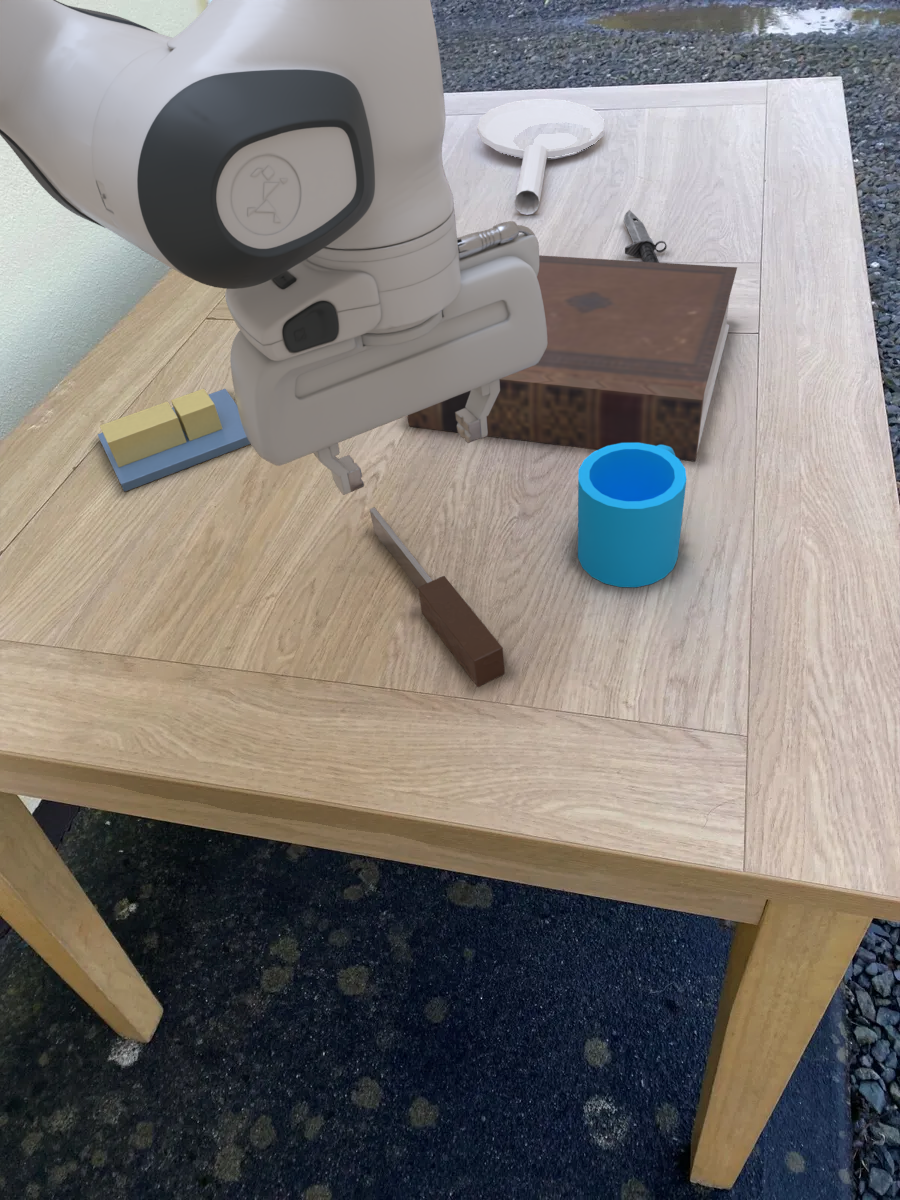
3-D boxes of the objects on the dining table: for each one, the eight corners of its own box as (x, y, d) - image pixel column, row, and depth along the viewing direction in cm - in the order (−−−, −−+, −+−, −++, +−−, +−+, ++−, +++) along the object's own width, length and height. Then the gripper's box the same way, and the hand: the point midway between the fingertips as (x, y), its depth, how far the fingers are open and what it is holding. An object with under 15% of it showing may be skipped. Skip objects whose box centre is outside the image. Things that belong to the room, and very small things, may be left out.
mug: (651, 600, 71) (658, 522, 65) (559, 567, 75) (558, 489, 69) (711, 511, 78) (723, 432, 72) (624, 484, 81) (628, 407, 76)
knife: (609, 204, 117) (648, 200, 117) (609, 220, 119) (647, 215, 118) (637, 273, 104) (681, 267, 104) (637, 289, 106) (680, 284, 106)
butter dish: (124, 492, 88) (109, 459, 85) (100, 441, 94) (86, 409, 91) (259, 441, 92) (249, 407, 89) (227, 396, 98) (217, 363, 95)
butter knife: (477, 687, 67) (474, 661, 65) (364, 537, 80) (358, 511, 78) (505, 674, 68) (503, 647, 65) (389, 527, 80) (384, 500, 78)
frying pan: (596, 226, 122) (599, 192, 119) (457, 221, 124) (456, 188, 121) (604, 119, 145) (606, 87, 141) (485, 116, 147) (485, 86, 143)
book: (695, 461, 83) (702, 399, 78) (409, 426, 91) (400, 368, 86) (729, 325, 98) (737, 267, 94) (482, 305, 106) (478, 251, 102)
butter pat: (189, 441, 91) (180, 416, 89) (179, 424, 93) (170, 399, 91) (222, 429, 92) (214, 403, 90) (212, 413, 94) (203, 388, 92)
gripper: (508, 195, 57) (518, 387, 66) (196, 299, 51) (257, 492, 61) (566, 229, 52) (567, 428, 62) (233, 346, 47) (293, 544, 57)
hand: (412, 460), depth 61 cm, fingers open, 8 cm apart
